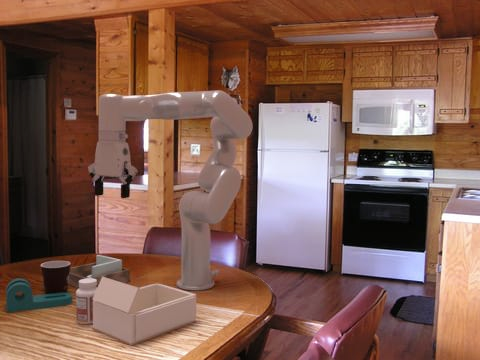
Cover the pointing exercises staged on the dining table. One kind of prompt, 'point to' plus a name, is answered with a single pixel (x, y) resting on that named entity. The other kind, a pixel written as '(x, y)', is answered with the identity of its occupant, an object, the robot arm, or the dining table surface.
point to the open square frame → (86, 270)
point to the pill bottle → (85, 300)
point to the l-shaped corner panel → (105, 266)
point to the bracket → (32, 297)
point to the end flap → (116, 294)
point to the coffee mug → (55, 276)
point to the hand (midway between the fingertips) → (111, 196)
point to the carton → (146, 314)
